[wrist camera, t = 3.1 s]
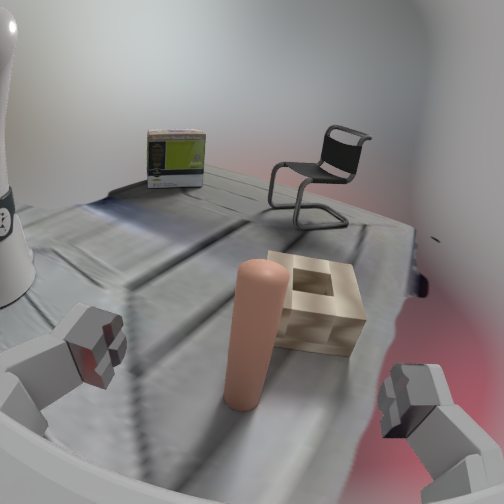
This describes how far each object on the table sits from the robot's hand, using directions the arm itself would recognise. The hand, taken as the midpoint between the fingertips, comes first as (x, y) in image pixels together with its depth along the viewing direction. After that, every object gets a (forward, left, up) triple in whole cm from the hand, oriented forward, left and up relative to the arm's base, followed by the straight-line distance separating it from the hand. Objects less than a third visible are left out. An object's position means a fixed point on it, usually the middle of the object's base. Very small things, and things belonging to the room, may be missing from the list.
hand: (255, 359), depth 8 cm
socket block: (+6, +26, -20) cm, 33 cm away
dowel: (0, +12, -20) cm, 23 cm away
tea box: (-29, +73, -20) cm, 82 cm away
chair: (+8, +63, -20) cm, 67 cm away
